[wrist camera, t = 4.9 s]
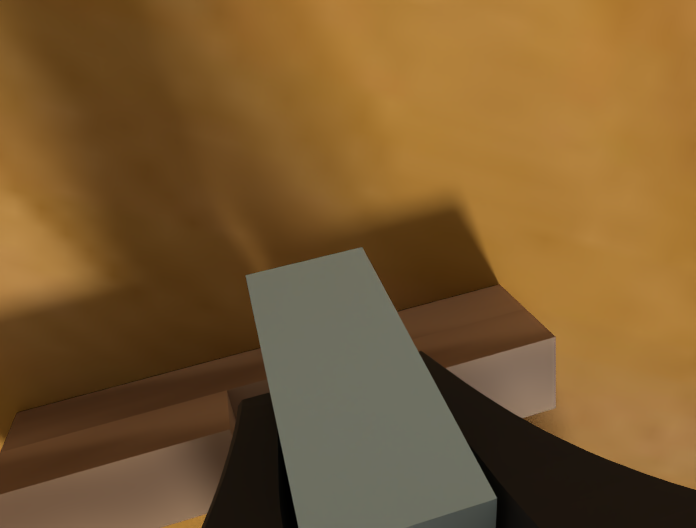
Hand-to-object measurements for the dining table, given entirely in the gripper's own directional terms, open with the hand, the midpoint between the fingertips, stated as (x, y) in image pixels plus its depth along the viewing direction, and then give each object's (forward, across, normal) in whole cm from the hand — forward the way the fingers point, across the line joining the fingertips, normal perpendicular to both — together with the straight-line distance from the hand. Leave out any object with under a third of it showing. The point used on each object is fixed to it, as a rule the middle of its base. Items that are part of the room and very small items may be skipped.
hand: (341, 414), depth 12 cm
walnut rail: (+9, +1, +6) cm, 11 cm away
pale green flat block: (+3, 0, +5) cm, 6 cm away
